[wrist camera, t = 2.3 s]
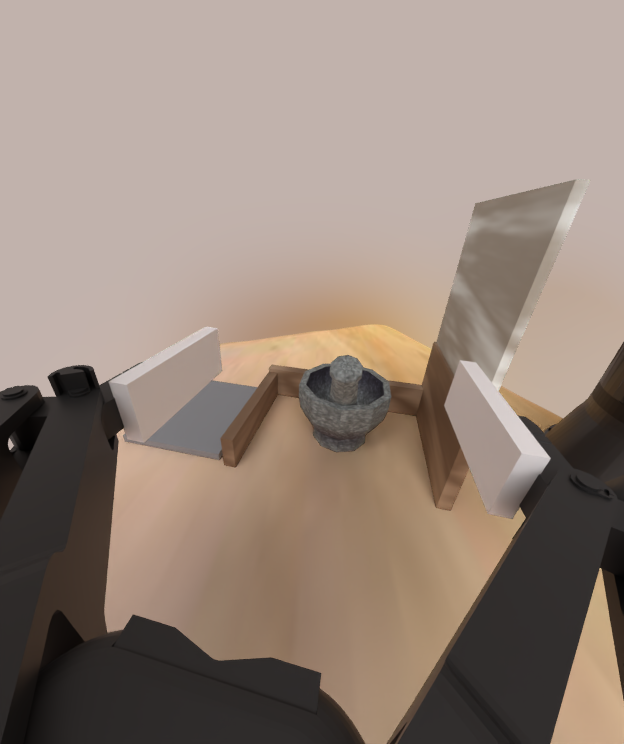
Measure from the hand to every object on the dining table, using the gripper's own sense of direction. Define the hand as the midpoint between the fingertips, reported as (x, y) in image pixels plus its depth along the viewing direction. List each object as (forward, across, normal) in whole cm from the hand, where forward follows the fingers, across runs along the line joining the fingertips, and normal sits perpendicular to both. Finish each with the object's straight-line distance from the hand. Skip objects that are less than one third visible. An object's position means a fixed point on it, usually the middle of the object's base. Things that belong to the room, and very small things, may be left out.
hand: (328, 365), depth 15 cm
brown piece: (+12, +1, -15) cm, 19 cm away
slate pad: (+12, -16, -15) cm, 25 cm away
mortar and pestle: (+12, +1, -15) cm, 19 cm away
